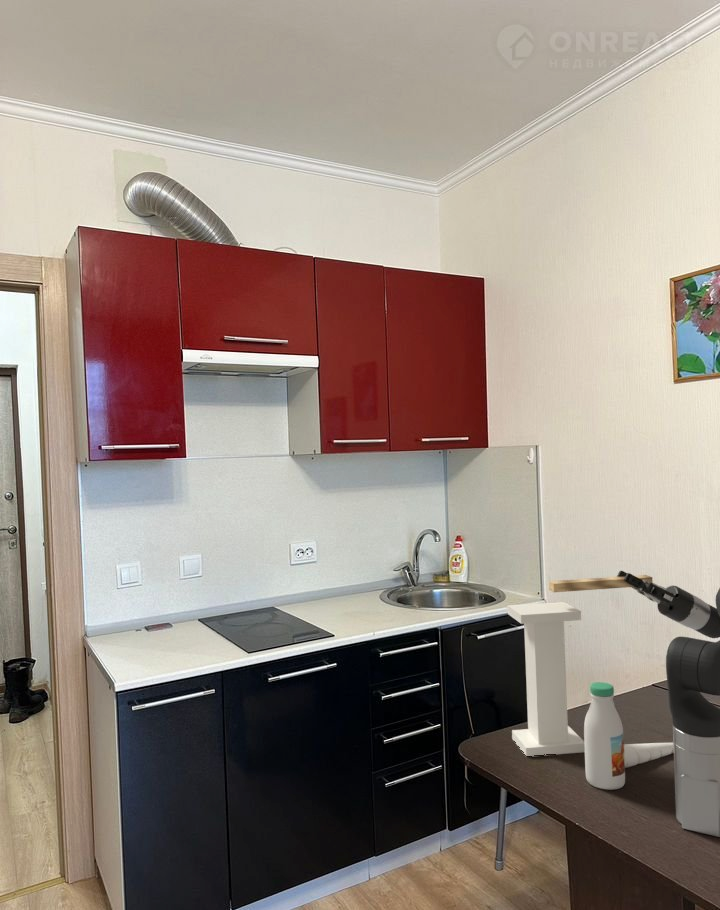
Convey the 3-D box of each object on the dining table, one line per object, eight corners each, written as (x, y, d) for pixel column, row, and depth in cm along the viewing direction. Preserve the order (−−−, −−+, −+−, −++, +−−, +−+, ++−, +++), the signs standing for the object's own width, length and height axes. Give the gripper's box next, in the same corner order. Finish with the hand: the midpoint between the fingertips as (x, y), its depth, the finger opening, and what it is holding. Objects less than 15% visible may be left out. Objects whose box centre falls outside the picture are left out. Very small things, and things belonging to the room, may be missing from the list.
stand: (568, 734, 166) (563, 601, 165) (586, 752, 156) (580, 611, 156) (512, 738, 164) (507, 605, 164) (526, 756, 154) (520, 615, 154)
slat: (646, 583, 164) (645, 574, 164) (652, 585, 161) (652, 577, 161) (549, 589, 161) (548, 581, 161) (553, 592, 158) (553, 583, 158)
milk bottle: (600, 793, 137) (596, 693, 137) (578, 776, 144) (574, 681, 144) (633, 787, 139) (629, 688, 139) (610, 770, 146) (606, 677, 146)
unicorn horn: (707, 753, 153) (706, 731, 153) (620, 774, 145) (619, 751, 145) (690, 744, 158) (689, 723, 158) (605, 764, 150) (604, 742, 150)
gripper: (674, 588, 170) (615, 556, 169) (708, 599, 156) (644, 566, 155) (661, 615, 170) (601, 584, 169) (694, 629, 156) (630, 595, 155)
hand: (622, 575), depth 162 cm, fingers closed on slat, 3 cm apart
